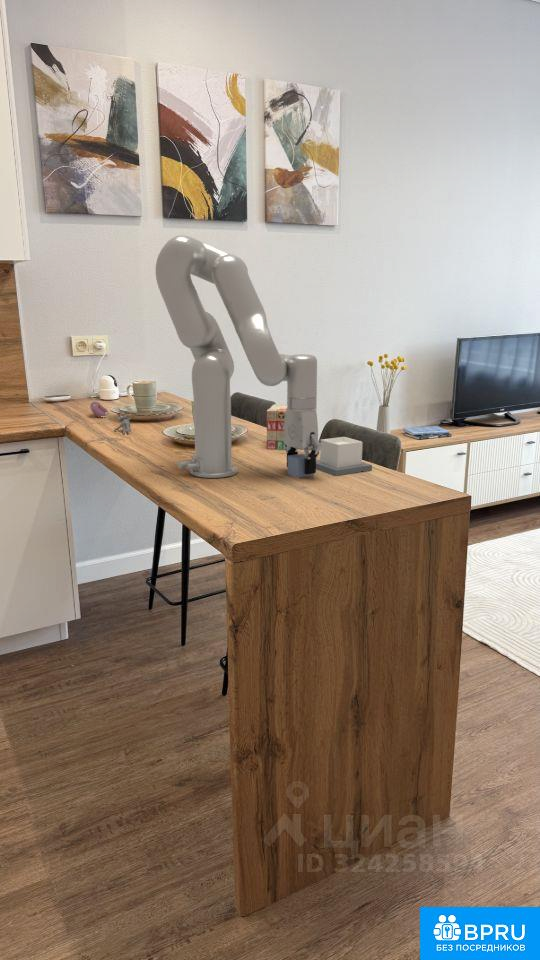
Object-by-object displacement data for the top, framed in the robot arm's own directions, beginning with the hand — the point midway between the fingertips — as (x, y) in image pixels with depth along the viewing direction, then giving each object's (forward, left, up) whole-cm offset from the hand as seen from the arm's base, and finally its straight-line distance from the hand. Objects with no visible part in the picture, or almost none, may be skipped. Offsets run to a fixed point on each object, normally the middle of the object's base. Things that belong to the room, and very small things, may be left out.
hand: (301, 469), depth 183 cm
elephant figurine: (-19, +79, -2) cm, 81 cm away
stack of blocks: (+17, +37, -2) cm, 41 cm away
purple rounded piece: (-18, +116, -2) cm, 117 cm away
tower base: (+13, 0, -1) cm, 13 cm away
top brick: (0, 0, -1) cm, 1 cm away
